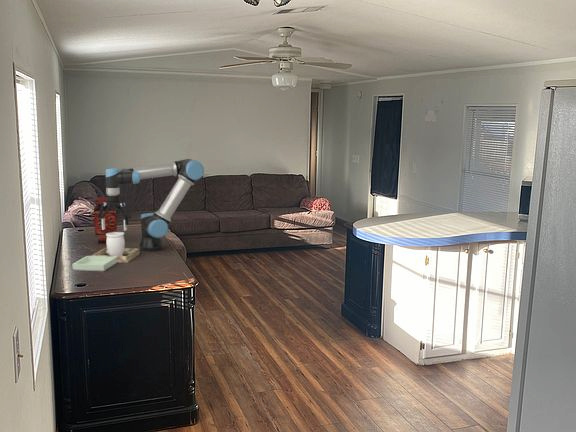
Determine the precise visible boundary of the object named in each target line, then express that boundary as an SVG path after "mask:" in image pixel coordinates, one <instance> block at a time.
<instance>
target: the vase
mask: <svg viewBox="0 0 576 432" xmlns="http://www.w3.org/2000/svg"><path fill="white" fill-rule="evenodd" d="M94 202H95V203H96V205H95V207H94V208H93V216H94V217H93V220H94V222H93V223H94V234H95V236H96V237H97V238H98V241H97V245H98V246H102V245H103V246H104V245H106V240H107V236H106V234H107V233H110V232H118V227H117V226H118V225H117V224H118V223H117V219H118V218H117V210H109V211H108V213H107V214H106V215H105V216H104V217H103V218H105V229H104V230H102V224H101V223H100V218H97V215H98V213H99V210H100V208H101V205H102V203H103V202H105V203H107V196H106V197H103V196H101V197H95V199H94ZM107 208H108V207H107V205H106V206H105V207H104V210H103V212H102V214H103V213H104V212H105V210H106V209H107ZM102 214H101V215H102ZM106 246H107V245H106Z"/></svg>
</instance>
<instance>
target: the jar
mask: <svg viewBox="0 0 576 432" xmlns="http://www.w3.org/2000/svg"><path fill="white" fill-rule="evenodd" d="M106 236H107V240H106V247H107V250H108V253H109V254H108V256H124V254H123V253H124V248H126V247H125V245H126V241H125V232H123V231H117V232H110V233H107V234H106Z"/></svg>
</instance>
